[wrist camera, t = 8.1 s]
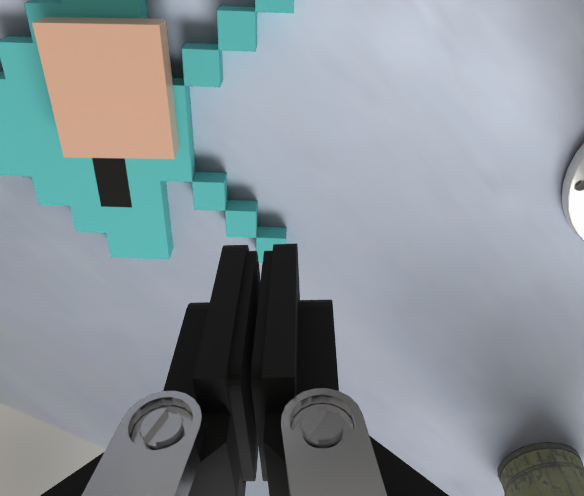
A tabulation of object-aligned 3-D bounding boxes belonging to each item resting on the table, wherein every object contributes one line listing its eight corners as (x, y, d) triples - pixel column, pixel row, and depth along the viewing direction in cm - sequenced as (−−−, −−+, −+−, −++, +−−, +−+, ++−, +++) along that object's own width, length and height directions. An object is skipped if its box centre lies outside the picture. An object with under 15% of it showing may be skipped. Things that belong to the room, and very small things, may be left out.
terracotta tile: (174, 159, 34) (159, 24, 29) (63, 157, 34) (32, 22, 29) (180, 146, 35) (166, 18, 31) (74, 145, 35) (46, 15, 31)
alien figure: (295, -35, 31) (-46, -48, 31) (294, -30, 29) (-67, -44, 29) (285, 247, 42) (35, 238, 42) (285, 262, 41) (23, 254, 40)
